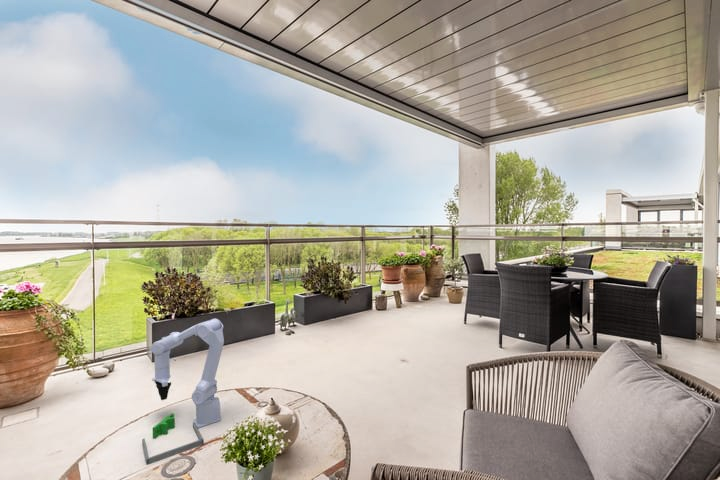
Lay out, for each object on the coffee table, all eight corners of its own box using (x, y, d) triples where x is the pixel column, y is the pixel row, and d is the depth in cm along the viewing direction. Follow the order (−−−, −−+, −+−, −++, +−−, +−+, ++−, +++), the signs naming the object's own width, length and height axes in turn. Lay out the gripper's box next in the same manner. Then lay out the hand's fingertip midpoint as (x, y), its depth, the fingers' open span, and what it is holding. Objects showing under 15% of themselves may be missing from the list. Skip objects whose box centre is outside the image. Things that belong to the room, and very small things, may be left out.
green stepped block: (161, 439, 135) (160, 428, 135) (152, 439, 136) (152, 427, 136) (179, 423, 146) (179, 413, 146) (171, 423, 147) (171, 413, 147)
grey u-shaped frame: (194, 426, 144) (194, 422, 144) (203, 444, 131) (203, 439, 131) (142, 443, 132) (142, 439, 132) (146, 464, 120) (146, 459, 120)
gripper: (149, 364, 154) (150, 394, 154) (153, 374, 143) (154, 406, 143) (167, 360, 159) (168, 389, 159) (172, 369, 147) (173, 401, 147)
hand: (163, 397), depth 151 cm, fingers open, 5 cm apart
